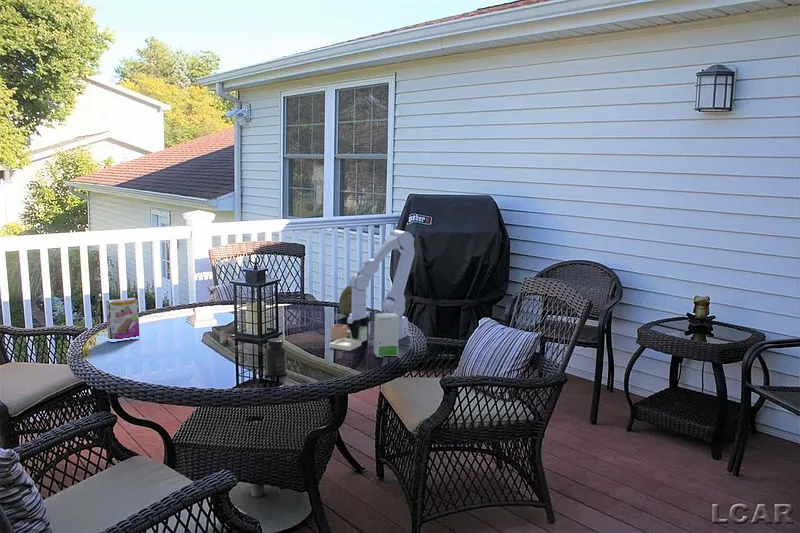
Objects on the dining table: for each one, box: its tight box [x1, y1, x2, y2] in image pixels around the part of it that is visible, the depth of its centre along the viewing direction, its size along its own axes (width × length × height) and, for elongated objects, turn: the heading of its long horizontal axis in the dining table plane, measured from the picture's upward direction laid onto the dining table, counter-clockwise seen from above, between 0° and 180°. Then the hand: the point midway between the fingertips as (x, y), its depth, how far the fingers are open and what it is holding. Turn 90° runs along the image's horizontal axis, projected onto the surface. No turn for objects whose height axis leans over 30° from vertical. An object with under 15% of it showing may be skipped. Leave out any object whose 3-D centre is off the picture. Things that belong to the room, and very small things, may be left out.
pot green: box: [349, 326, 368, 343], centre depth 264 cm, size 5×5×6 cm
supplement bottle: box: [265, 337, 287, 377], centre depth 221 cm, size 7×7×12 cm
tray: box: [329, 338, 362, 352], centre depth 256 cm, size 9×9×2 cm
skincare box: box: [373, 312, 400, 358], centre depth 244 cm, size 8×7×16 cm
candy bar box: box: [105, 297, 140, 339], centre depth 259 cm, size 11×5×16 cm, turn 126°
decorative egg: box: [338, 285, 352, 318], centre depth 302 cm, size 11×11×15 cm
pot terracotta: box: [330, 323, 348, 341], centre depth 266 cm, size 5×5×6 cm
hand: (358, 337), depth 264 cm, fingers closed on pot green, 5 cm apart
